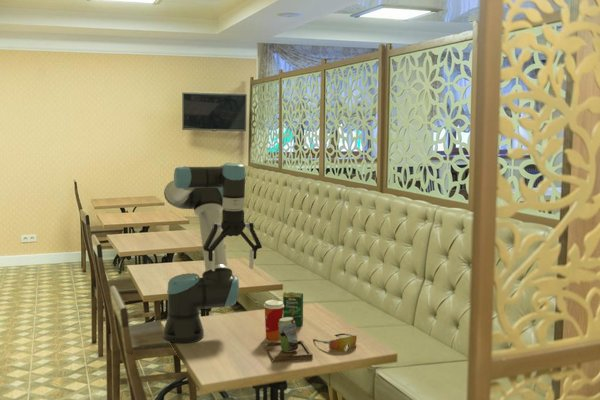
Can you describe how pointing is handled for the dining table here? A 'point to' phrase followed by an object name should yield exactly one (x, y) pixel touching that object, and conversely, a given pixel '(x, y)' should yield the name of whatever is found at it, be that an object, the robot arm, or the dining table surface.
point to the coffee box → (293, 307)
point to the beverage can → (288, 334)
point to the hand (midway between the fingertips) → (232, 269)
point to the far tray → (282, 356)
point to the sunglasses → (341, 342)
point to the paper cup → (273, 318)
